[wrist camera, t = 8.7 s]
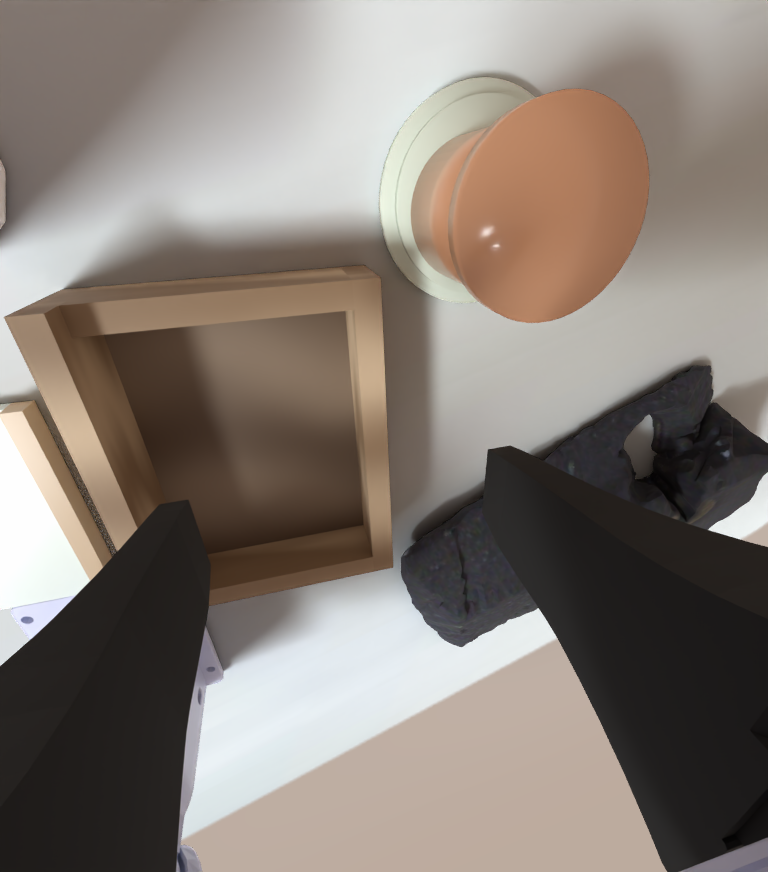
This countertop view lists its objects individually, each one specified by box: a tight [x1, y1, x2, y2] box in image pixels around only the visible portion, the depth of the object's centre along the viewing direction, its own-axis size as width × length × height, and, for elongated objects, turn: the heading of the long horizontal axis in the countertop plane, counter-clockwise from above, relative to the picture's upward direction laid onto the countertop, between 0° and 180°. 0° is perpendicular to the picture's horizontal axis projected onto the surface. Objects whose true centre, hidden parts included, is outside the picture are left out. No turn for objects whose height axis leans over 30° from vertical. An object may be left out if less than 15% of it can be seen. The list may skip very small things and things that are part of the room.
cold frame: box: [4, 265, 393, 606], centre depth 18 cm, size 14×11×4 cm
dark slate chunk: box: [401, 366, 768, 647], centre depth 26 cm, size 15×22×5 cm
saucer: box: [379, 77, 535, 303], centre depth 17 cm, size 8×8×1 cm
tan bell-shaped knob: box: [411, 89, 649, 323], centre depth 14 cm, size 6×6×6 cm
